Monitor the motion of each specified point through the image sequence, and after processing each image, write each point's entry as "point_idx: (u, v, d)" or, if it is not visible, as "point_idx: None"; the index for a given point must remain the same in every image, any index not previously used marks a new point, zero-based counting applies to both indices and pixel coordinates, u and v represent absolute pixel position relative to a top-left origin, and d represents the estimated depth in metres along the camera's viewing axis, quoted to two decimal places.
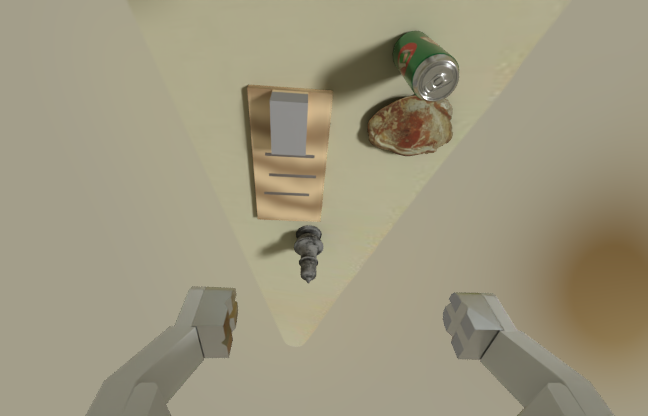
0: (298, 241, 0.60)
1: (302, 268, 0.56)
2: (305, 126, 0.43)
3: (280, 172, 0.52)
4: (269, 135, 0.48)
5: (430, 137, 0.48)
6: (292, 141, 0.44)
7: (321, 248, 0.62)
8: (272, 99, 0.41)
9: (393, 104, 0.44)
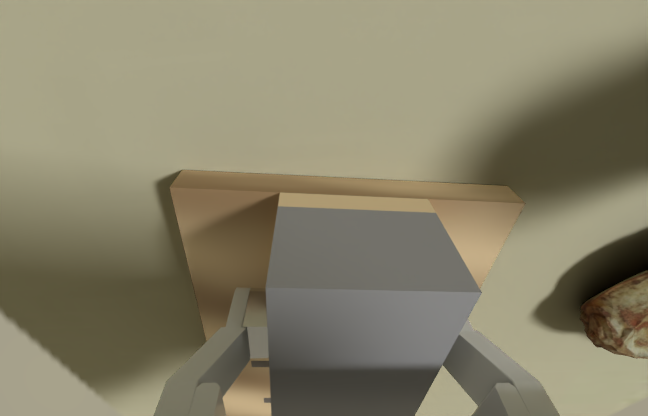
0: None
1: None
2: (433, 366, 0.09)
3: None
4: None
5: None
6: (364, 404, 0.10)
7: None
8: (283, 273, 0.07)
9: None
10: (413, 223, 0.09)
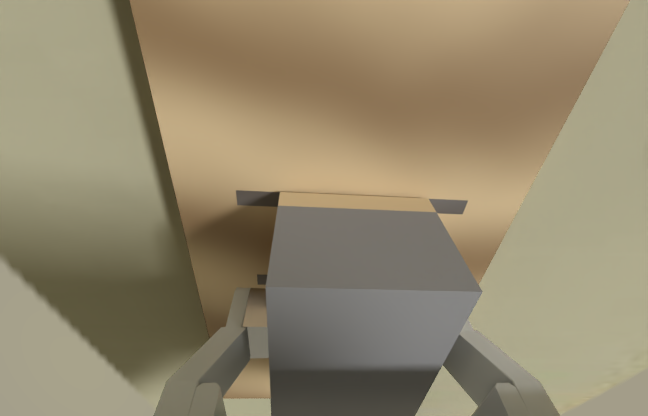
0: None
1: None
2: (434, 366, 0.09)
3: None
4: (256, 97, 0.09)
5: None
6: (364, 404, 0.10)
7: None
8: (283, 273, 0.07)
9: None
10: (413, 223, 0.09)
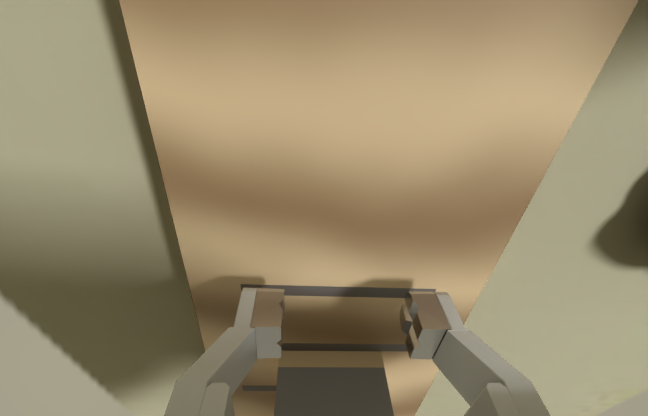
0: None
1: None
2: None
3: (299, 340, 0.15)
4: (258, 223, 0.11)
5: None
6: None
7: None
8: None
9: None
10: (367, 380, 0.14)
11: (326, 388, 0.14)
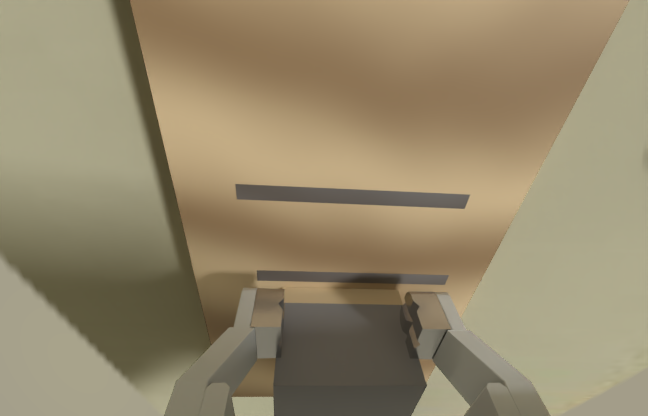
0: None
1: None
2: None
3: (306, 267, 0.12)
4: (256, 88, 0.08)
5: None
6: None
7: None
8: (285, 372, 0.10)
9: None
10: (384, 317, 0.12)
11: (337, 324, 0.12)
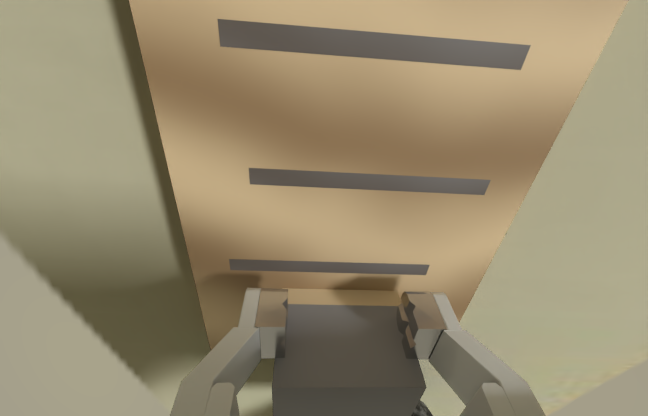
0: None
1: None
2: None
3: (311, 164, 0.10)
4: None
5: None
6: None
7: None
8: (284, 374, 0.10)
9: None
10: (383, 318, 0.12)
11: (336, 325, 0.12)
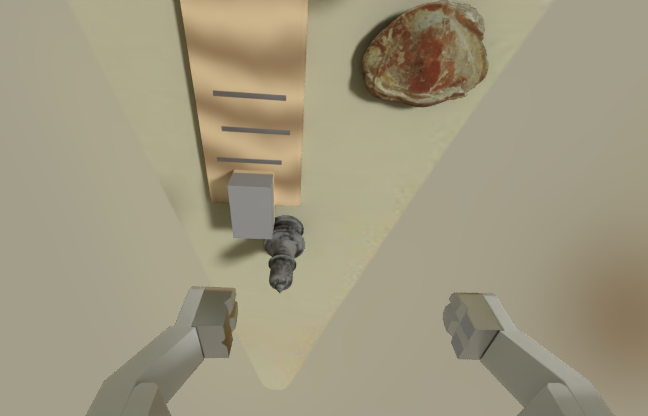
0: None
1: (271, 271, 0.39)
2: (269, 210, 0.38)
3: (238, 125, 0.36)
4: (217, 60, 0.32)
5: (456, 72, 0.33)
6: (256, 224, 0.40)
7: (302, 247, 0.44)
8: (231, 183, 0.36)
9: (394, 23, 0.30)
10: (265, 176, 0.38)
11: (249, 177, 0.38)
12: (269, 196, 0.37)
